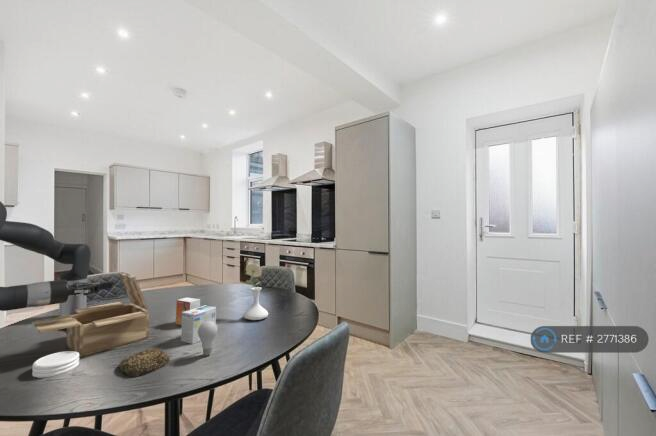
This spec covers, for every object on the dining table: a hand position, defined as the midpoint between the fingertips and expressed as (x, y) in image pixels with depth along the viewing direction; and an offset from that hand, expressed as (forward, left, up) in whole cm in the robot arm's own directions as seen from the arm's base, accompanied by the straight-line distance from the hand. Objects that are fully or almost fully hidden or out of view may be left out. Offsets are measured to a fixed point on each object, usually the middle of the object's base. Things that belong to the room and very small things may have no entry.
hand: (112, 284), depth 105 cm
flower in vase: (+20, +50, -21) cm, 57 cm away
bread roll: (+30, +1, -21) cm, 36 cm away
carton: (0, -5, -20) cm, 21 cm away
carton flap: (0, +9, -10) cm, 13 cm away
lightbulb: (+38, +16, -21) cm, 46 cm away
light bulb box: (+22, +22, -21) cm, 37 cm away
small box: (+4, +27, -21) cm, 34 cm away
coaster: (+12, -16, -21) cm, 29 cm away
